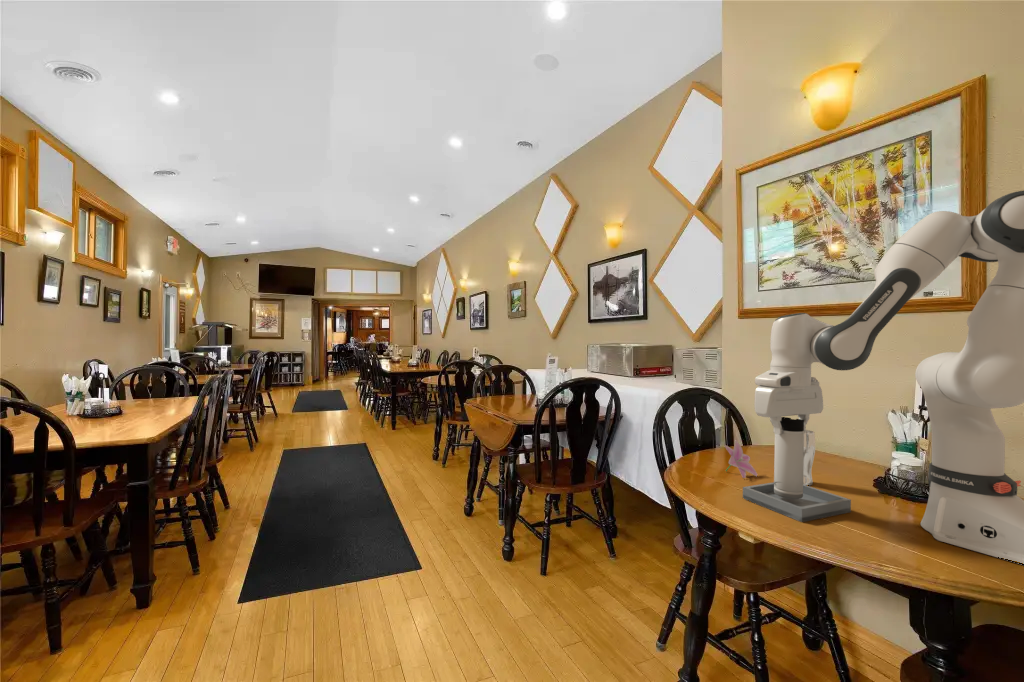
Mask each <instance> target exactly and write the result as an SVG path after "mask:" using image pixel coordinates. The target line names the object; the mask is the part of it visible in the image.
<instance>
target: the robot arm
mask: <svg viewBox="0 0 1024 682" xmlns="http://www.w3.org/2000/svg"><path fill="white" fill-rule="evenodd" d="M958 257H960V258H966V259H971V260H975V261H976V262H977V261H978V262H982V263H998V265H997V270H996V273H995V276H994V277H993V278H992V280H991V281H990V282H989V284H988V285H987V287H986V289H985V290H984V292H983V293H982V295H981V296H980V298H979V299H978V301H977V302H976V304H975V306H974V307H973V309H972V310H971V312H970V314H969V315H968V317H967V319H966V325H967V327H968V332H967V335H966V341H965V344H964V345H963V347H962V349H961V350H960V351H958V352H956V351H955V352H954V351H946V352H940V353H937V354H936V353H935V354H934V355H931V356H928V357H926V358H924V359H923V360H921V361H920V362H919V363H918V365H917V366H916V369H915V380H916V382H917V384H918V386H919V387H920V388H921V391H922V393H923V396H924V401H925V404H926V408H927V413H928V417H929V423H930V428H931V462H930V463H928V473H927V474H928V477H927V478H928V482H927V483H928V487H929V493H928V500H927V503H926V508H925V512H924V514H923V516H922V519H921V522H920V524H919V525H920V526H921V527H922V528H923V529H924V530H925V531H927V532H929V534H931V535H932V536H933V538H934V539H935V540H936V541H938V542H944V543H947V544H950V545H954V546H956V547H960V548H964V549H967V550H971V551H974V552H977V553H981V554H984V555H988V556H990V557H991V556H992V557H993V558H998V557H999V558H998V559H1001V558H1004V559H1003V560H1005V559H1008V560H1012V561H1017V562H1020V563H1023V564H1024V499H1022V498H1021V497H1020V496H1019V495H1018V487H1021V486H1022V485H1021V482H1022V480H1013V479H1012V478H1011V477H1010V476H1008V475H1007V473H1006V472H1005V463H1006V461H1005V460H1006V459H1005V458H1006V437H1005V435H1004V433H1003V431H1002V430H1001V429H1000V427H999V426H998V424H997V422H996V420H995V418H994V415H993V412H992V409H1005V408H1007V409H1008V408H1013V407H1018V406H1020V405H1022V404H1024V190H1017V191H1014V192H1011V193H1008V194H1005V195H1002V196H1001V197H999V198H997V199H994V200H993V201H992V202H990V204H988V205H987V206H986V207H985V208H984V209H983V210H982V211H980V213H977V214H976V215H973V216H972V215H970V216H966V215H962V214H960V213H957V212H954V211H950V210H948V211H947V210H939V211H934V212H931V213H929V214H927V215H926V216H924V217H923V218H921V219H920V220H919V221H917V222H916V223H915V224H913V226H911V227H910V228H909V229H908V230H906V231H905V233H904V234H903V235H901V236H900V237H899V238H898V239H897V240H896V241H895V242H894V243H893V245H891V247H890V248H889V249H887V251H886V252H885V254H883V256H882V257H881V259H880V260H879V262H878V264H877V265H876V267H875V268H874V270H873V271H874V273H873V274H874V279H875V284H874V288H873V289H872V291H871V292H870V293H869V295H868V296H867V297H866V298H865V299H864V300H862V301H863V302H862V303H861V304H860V305H859V306H858V307H857V308H856V309H855V310H854V311H853V312H852V313H851V314H850V316H849V317H848V318H847V319H845V320H844V321H842V322H840V323H839V324H836V325H833V324H830V323H826V322H824V321H822V320H818V319H816V318H814V317H813V316H810V315H809V314H808V313H806V312H799V313H791V314H785V315H781V316H779V317H777V318H776V319H775V320H774V321H773V323H772V326H771V331H770V339H769V340H770V343H769V344H770V346H769V349H770V352H771V360H770V364H769V370H767V371H764V372H762V373H761V374H758V375H757V376H756V377H754V383H755V386H757V387H756V388H755V390H754V412H755V414H756V415H757V416H759V417H763V418H767V419H768V418H769V420H770V423H771V425H772V426H773V433H774V435H775V434H778V435H780V434H784V427H782V426H781V423H780V421H781V417H791V416H792V417H793V416H797V418H798V419H801V420H804V427H803V428H804V432H805V431H806V430H807V429H806V427H807V426H806V425H808V422H809V420H810V415H813V414H821V413H822V412H823V409H824V399H823V398H824V397H823V396H824V395H823V390H822V388H821V385H820V381H818V379H817V378H816V377H814V376H812V364H813V363H819V364H822V365H824V366H826V367H827V368H830V369H833V370H836V371H850V370H854V369H857V368H858V367H861V366H862V365H863V364H864V363H866V361H867V360H868V358H869V357H870V356H871V353H872V349H873V346H874V343H875V340H876V338H877V337H878V336H879V334H880V332H881V331H882V330H883V329H884V328H885V327H886V326H887V325H888V323H889V322H891V320H892V319H893V318H894V317H895V316H896V315H897V314H898V313H899V311H901V309H902V308H904V306H905V305H906V304H907V302H909V301H910V300H911V299H912V298H914V297H915V296H916V295H918V294H919V293H920V292H922V290H923V289H926V288H927V287H928V286H929V285H930V284H931V283H933V281H934V280H936V279H937V278H938V277H939V276H940V275H941V274H942V272H944V271H945V270H946V269H947V268H948V267H949V266H950V264H951V263H952V262H953V261H954V260H955V259H957V258H958ZM1008 560H1007V561H1008ZM1012 561H1011V562H1012Z"/></svg>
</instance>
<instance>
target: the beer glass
mask: <svg viewBox="0 0 1024 682" xmlns="http://www.w3.org/2000/svg"><path fill="white" fill-rule="evenodd" d="M815 437H816V436H815V431H814V430H811V429H806V431H805V432H804V464H803V485H809V486H813V485H814V482H813V476H812V467H813V464H814V459H815V454H816V438H815Z"/></svg>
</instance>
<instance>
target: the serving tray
mask: <svg viewBox="0 0 1024 682" xmlns="http://www.w3.org/2000/svg"><path fill="white" fill-rule="evenodd" d="M743 498H744V499H743ZM742 499H743V500H745V499H746V500H745V501H748V500H749V501H748V502H750V501H751V502H750V503H753V504H755V503H756V504H755V505H758V506H760V507H762V508H765V509H768V510H771V511H773V512H775V513H778V514H781V515H784V516H785V517H788V518H791V519H793V520H796V521H798V522H800V523H804V522H805V523H806V522H809V521H814V520H817V519H819V520H820V519H823V518H828V517H832V516H839V515H842V514H843V515H844V514H847V513H852V499H850V498H847V497H844V496H841V495H839V494H835V493H832V492H828V491H825V490H822V489H819V488H815V487H812V486H811V485H809V486H807V485H803V497H802V498H800V499H789V498H784V497H780V496H778V495H776V494H775V493H774V481H773V482H767V483H760V484H754V485H748V486H742Z"/></svg>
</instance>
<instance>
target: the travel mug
mask: <svg viewBox="0 0 1024 682" xmlns="http://www.w3.org/2000/svg"><path fill="white" fill-rule="evenodd" d="M780 423H781V426H782V427H784V434H780V435H778V434H775V433H774V460H773V461H774V462H773V463H774V464H773V465H774V466H773V469H774V472H773V482H774V493H775V494H776V495H778V496H780V497H784V498H789V499H800V498H802V497H803V464H804V428H803V427H804V420H801V419H799V418H796V419H793V418H791V417H789V416H782V417H781V421H780Z"/></svg>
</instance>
